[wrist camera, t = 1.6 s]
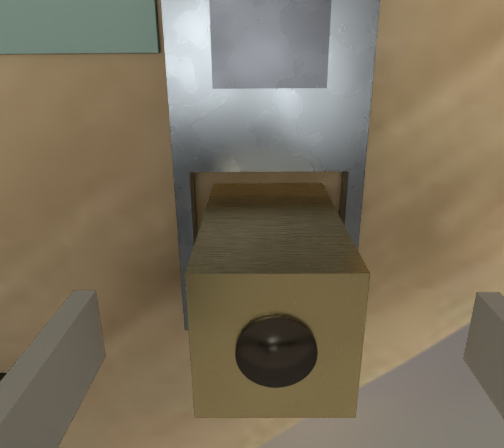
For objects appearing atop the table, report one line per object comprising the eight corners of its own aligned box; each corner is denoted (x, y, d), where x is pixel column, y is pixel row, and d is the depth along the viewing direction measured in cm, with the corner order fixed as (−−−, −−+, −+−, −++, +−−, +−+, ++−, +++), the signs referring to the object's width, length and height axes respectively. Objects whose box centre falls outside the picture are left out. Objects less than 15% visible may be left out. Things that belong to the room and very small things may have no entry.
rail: (188, 314, 25) (184, 331, 24) (146, -304, 16) (135, -342, 14) (345, 314, 25) (351, 330, 23) (396, -307, 16) (410, -345, 14)
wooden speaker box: (217, 279, 24) (193, 422, 15) (214, 183, 22) (183, 277, 13) (316, 279, 24) (356, 422, 15) (321, 183, 22) (371, 276, 13)
